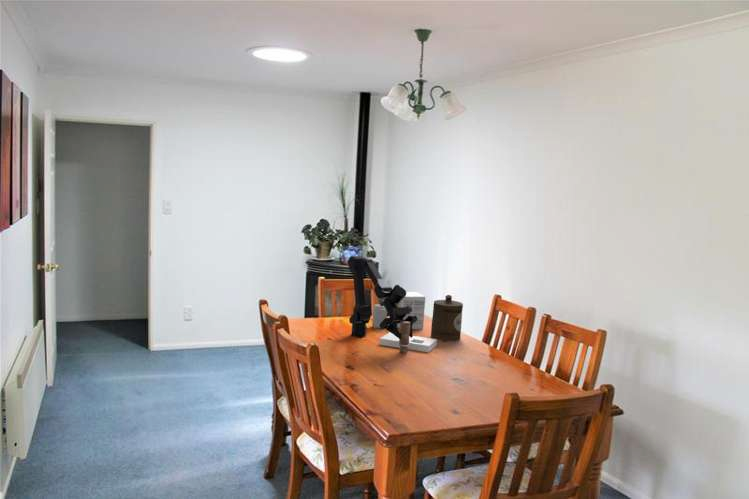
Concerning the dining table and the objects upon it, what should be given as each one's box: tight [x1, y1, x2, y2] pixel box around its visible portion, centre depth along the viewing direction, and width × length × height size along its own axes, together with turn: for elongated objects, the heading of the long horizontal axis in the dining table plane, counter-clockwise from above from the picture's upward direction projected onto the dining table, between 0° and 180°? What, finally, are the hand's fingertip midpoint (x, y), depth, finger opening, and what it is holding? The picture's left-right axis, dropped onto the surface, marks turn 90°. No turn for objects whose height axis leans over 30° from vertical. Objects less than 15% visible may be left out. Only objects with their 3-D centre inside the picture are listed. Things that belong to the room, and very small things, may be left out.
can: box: [371, 303, 388, 330], centre depth 337 cm, size 8×8×12 cm
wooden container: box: [430, 294, 464, 342], centre depth 323 cm, size 15×15×22 cm
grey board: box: [379, 331, 438, 353], centre depth 306 cm, size 24×14×3 cm, turn 70°
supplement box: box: [397, 291, 426, 330], centre depth 344 cm, size 13×13×18 cm
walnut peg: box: [399, 321, 410, 355], centre depth 291 cm, size 5×5×14 cm
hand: (406, 338), depth 290 cm, fingers open, 6 cm apart
